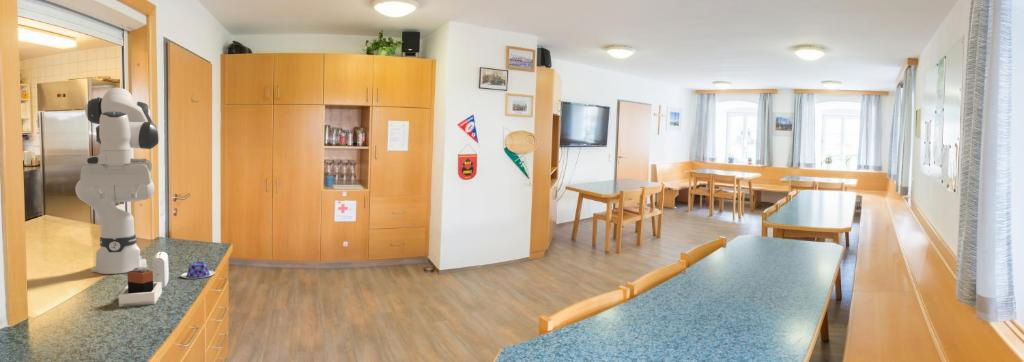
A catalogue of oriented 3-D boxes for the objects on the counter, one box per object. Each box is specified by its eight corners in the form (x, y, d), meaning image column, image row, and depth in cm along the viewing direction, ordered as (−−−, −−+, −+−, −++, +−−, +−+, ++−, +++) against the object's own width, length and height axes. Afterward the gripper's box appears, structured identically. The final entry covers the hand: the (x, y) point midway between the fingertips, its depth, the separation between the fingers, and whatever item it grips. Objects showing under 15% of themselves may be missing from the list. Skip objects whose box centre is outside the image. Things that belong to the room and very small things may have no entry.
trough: (128, 295, 192) (128, 284, 191) (161, 292, 196) (161, 281, 195) (119, 307, 180) (118, 295, 179) (154, 303, 184) (154, 292, 183)
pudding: (180, 281, 211) (179, 268, 210) (181, 273, 221) (180, 261, 221) (215, 278, 217) (215, 265, 216) (214, 270, 227) (214, 258, 227)
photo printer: (165, 287, 201) (164, 255, 200) (152, 289, 200) (151, 255, 198) (169, 280, 211) (169, 249, 210) (156, 281, 209) (155, 249, 208)
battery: (142, 300, 184) (141, 271, 183) (127, 297, 186) (126, 269, 185) (154, 296, 188) (153, 268, 187) (139, 294, 190) (138, 266, 189)
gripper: (153, 158, 197) (154, 196, 198) (83, 157, 189) (85, 197, 190) (149, 159, 191) (150, 198, 192) (77, 159, 183) (79, 199, 184)
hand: (117, 197), depth 191 cm, fingers open, 8 cm apart
